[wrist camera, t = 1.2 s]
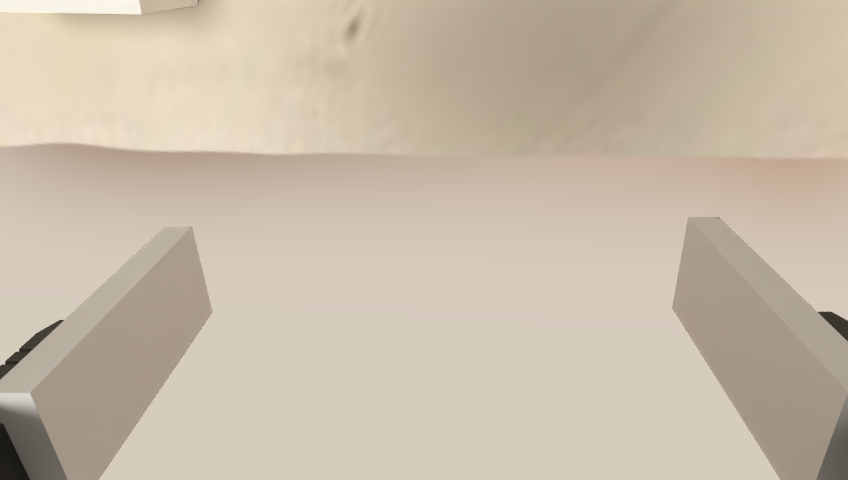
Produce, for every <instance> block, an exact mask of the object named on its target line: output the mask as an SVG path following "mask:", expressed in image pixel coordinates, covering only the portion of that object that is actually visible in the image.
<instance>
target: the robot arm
mask: <svg viewBox="0 0 848 480" xmlns="http://www.w3.org/2000/svg"><path fill="white" fill-rule="evenodd" d="M672 308H673V310H674V312H675V313H676V315H677V316H678V318H679V319H680V321H681V323H682V324H683V326H684V327H685V329H686V331H687V332H688V334H689V335H690V337H691V338H692V340H693V342H694V343H695V345H696V346H697V348H698V349H699V351H700V353H701V354H702V356H703V357H704V359H705V361H706V362H707V364H708V365H709V367H710V368H711V370H712V372H713V373H714V375H715V376H716V378H717V380H718V381H719V383H720V384H721V386H722V388H723V389H724V390H725V392H726V394H727V395H728V397H729V399H730V400H731V402H732V403H733V405H734V407H735V408H736V410H737V411H738V413H739V414H740V416H741V418H742V419H743V421H744V422H745V424H746V426H747V427H748V429H749V430H750V432H751V433H752V435H753V436H754V438H755V440H756V441H757V443H758V444H759V446H760V448H761V449H762V451H763V453H764V454H765V455H766V457H767V459H768V460H769V462H770V463H771V465H772V467H773V468H774V470H775V471H776V473H777V475H778V476H779V478H780V479H781V480H848V321H847V320H845V319H844V318H842V317H840V316H838V315H836V314H834V313H832V312H817V311H816V310H815V309H813V307H812V306H810V305H809V304H808V303H807V302H806V301H805V300H804V299H803V298H802V297H801V296H800V295H799V294H798V293H797V292H796V291H795V290H794V289H793V288H792V287H791V286H790V285H789V284H788V283H787V282H786V281H785V280H784V279H783V278H781V277H780V276H779V275H778V274H777V273H776V272H775V271H774V270H773V269H772V268H771V267H770V266H769V265H768V264H767V263H766V262H765V261H764V260H763V259H762V258H761V257H760V256H759V255H758V254H757V253H756V252H754V250H752V249H751V248H750V247H749V246H748V245H747V244H746V243H745V242H744V241H743V240H742V239H741V238H740V237H739V236H738V235H737V234H736V233H735V232H734V231H733V230H732V229H731V228H730V227H729V226H728V225H727V224H726V223H725V222H724V221H722V220H721V219H720V218H719V217H696V218H688V222H687V229H686V234H685V239H684V245H683V251H682V256H681V263H680V268H679V273H678V279H677V285H676V290H675V296H674V301H673V307H672ZM211 314H212V309H211V304H210V301H209V296H208V292H207V287H206V283H205V279H204V276H203V271H202V267H201V262H200V258H199V254H198V250H197V246H196V241H195V237H194V233H193V229H192V227H164V228H163V229H162V230H161V231H160V232H159V233H158V234H157V235H155V236H154V237H153V238H152V239H151V240H150V241H149V242H148V243H147V244H146V245H145V246H144V247H143V248H142V249H140V250H139V251H138V252H137V253H136V254H135V255H134V256H133V257H132V258H131V259H130V260H129V261H127V263H125V264H124V265H123V266H122V267H121V268H120V269H119V270H118V271H117V272H116V273H115V274H113V276H111V277H110V278H109V279H108V280H107V281H106V282H105V283H104V284H103V285H102V286H101V287H99V288H98V289H97V290H96V291H95V292H94V293H93V294H92V295H91V296H90V297H89V298H88V299H87V300H86V301H84V302H83V303H82V304H81V305H80V306H79V307H78V308H77V309H76V310H75V311H74V312H73V313H72V314H70V316H68V317H67V318H66V319H65V320H59V321H58V322H56V323H54V324H52V325H50V326H49V327H47V328H45V329H44V330H42V331H40V332H38V333H36V334H35V335H34V336H33V337H32V338H31V339H30V340H29V341H28V342H26V343H25V344H24V345H23V346H22V347H21V348H20V350H19V352H16V353H14V354H13V355H12V356H11V357H10V358H9V359H7V360H6V361H5V362H6V364H5V365H1V366H0V480H99V479H100V477H101V476H102V474H103V473H104V471H105V470H106V468H107V467H108V465H109V464H110V462H111V461H112V459H113V458H114V457H115V455H116V454H117V452H118V451H119V449H120V448H121V446H122V444H123V443H124V442H125V440H126V439H127V437H128V436H129V434H130V433H131V431H132V430H133V429H134V427H135V426H136V424H137V423H138V421H139V420H140V418H141V417H142V415H143V414H144V412H145V411H146V409H147V408H148V406H149V405H150V403H151V402H152V400H153V399H154V398H155V396H156V394H157V393H158V392H159V390H160V389H161V387H162V386H163V384H164V383H165V381H166V380H167V379H168V377H169V376H170V374H171V373H172V371H173V370H174V368H175V367H176V365H177V364H178V362H179V361H180V359H181V358H182V356H183V355H184V354H185V352H186V351H187V349H188V348H189V346H190V345H191V343H192V342H193V340H194V339H195V337H196V336H197V334H198V333H199V331H200V330H201V328H202V327H203V326H204V324H205V323H206V321H207V320H208V318H209V317H210V315H211Z"/></svg>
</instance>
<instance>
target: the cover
mask: <svg viewBox="0 0 848 480" xmlns="http://www.w3.org/2000/svg"><path fill="white" fill-rule="evenodd" d="M196 5H198V0H0V12H32V13H92V14H147V13H153V12H159V11H165V10H171V9H177V8H183V7H190V6H196Z"/></svg>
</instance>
